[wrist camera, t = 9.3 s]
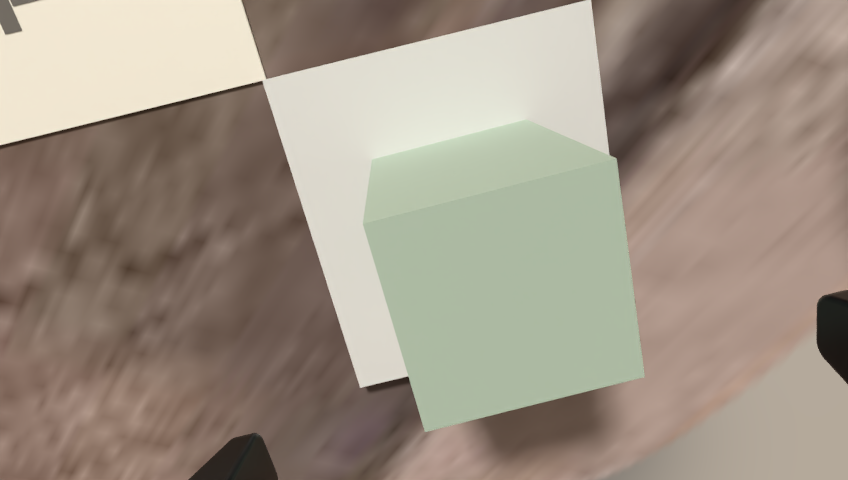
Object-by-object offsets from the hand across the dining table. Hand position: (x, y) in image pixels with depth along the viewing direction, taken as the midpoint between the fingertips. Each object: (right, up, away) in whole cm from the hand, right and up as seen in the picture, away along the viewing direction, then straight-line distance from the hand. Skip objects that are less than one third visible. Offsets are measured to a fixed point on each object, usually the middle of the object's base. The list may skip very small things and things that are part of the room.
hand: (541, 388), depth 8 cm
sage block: (0, +3, +9) cm, 10 cm away
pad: (-1, +3, +10) cm, 10 cm away
